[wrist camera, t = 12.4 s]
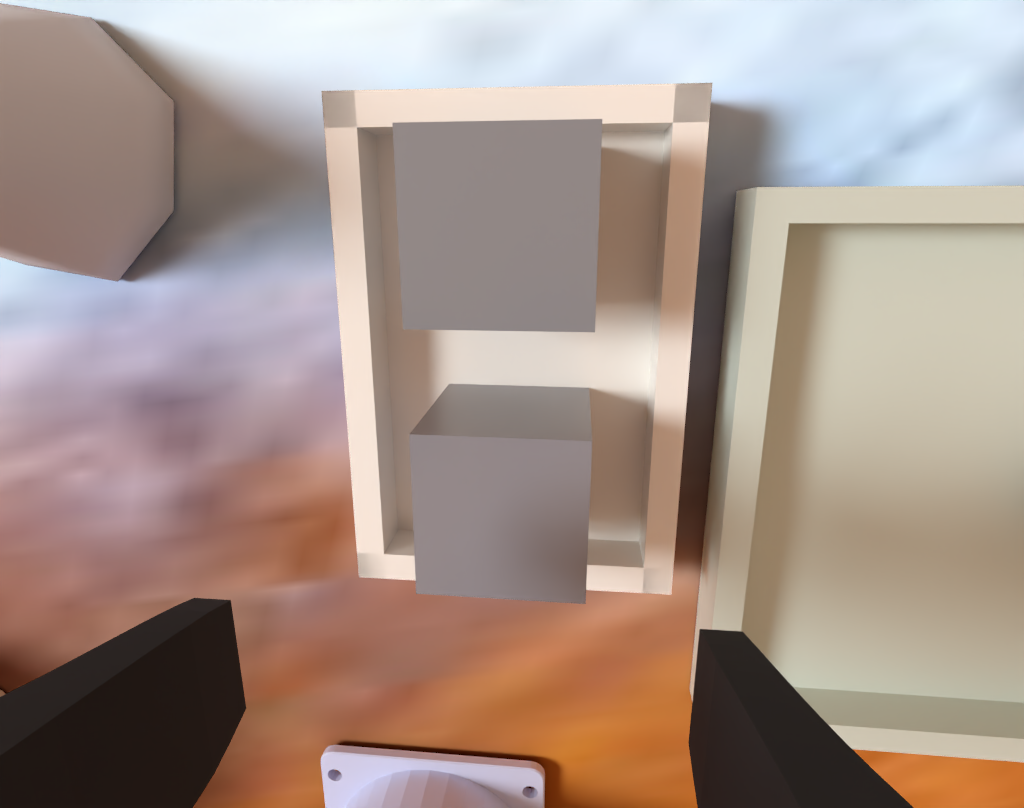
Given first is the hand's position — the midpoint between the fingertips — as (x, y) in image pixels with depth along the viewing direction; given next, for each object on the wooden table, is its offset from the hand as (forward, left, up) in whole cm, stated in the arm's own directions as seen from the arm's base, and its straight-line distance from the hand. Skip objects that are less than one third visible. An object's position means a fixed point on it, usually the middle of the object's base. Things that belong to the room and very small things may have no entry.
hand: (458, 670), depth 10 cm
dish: (+3, 0, -10) cm, 10 cm away
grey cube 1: (+6, 0, -9) cm, 11 cm away
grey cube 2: (0, 0, -9) cm, 9 cm away
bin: (0, -12, -10) cm, 16 cm away
